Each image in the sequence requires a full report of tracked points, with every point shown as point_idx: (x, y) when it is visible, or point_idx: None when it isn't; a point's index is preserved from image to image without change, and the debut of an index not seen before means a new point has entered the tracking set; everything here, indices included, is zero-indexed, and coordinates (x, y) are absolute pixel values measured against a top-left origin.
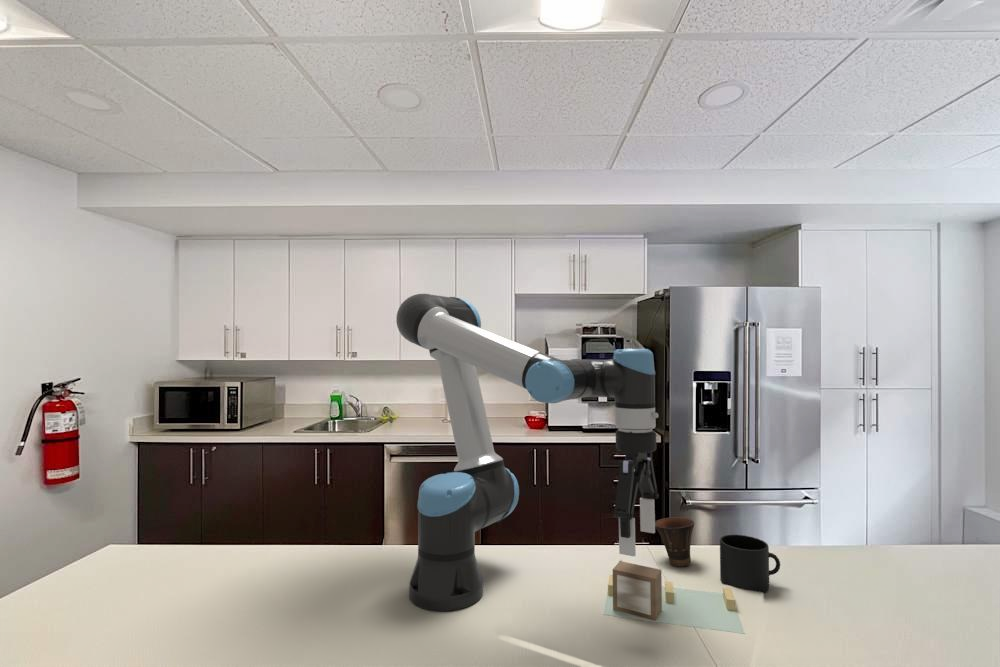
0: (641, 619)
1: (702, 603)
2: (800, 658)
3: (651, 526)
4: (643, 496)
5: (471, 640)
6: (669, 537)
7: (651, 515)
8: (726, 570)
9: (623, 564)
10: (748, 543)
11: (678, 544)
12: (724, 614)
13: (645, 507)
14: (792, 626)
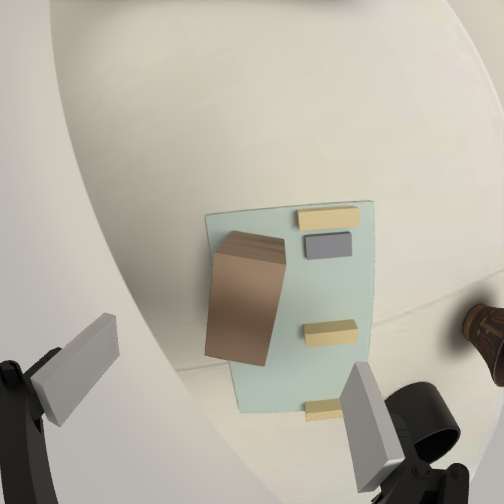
0: None
1: (318, 374)
2: (224, 439)
3: (346, 407)
4: (402, 470)
5: (87, 55)
6: (492, 335)
7: (351, 438)
8: (404, 409)
9: (262, 278)
10: (445, 441)
11: (482, 344)
12: (289, 398)
13: (367, 445)
14: (297, 444)
